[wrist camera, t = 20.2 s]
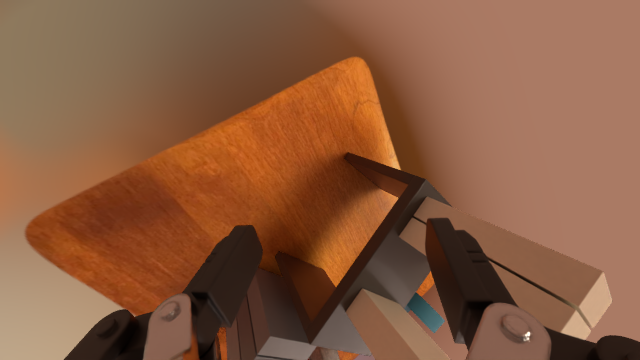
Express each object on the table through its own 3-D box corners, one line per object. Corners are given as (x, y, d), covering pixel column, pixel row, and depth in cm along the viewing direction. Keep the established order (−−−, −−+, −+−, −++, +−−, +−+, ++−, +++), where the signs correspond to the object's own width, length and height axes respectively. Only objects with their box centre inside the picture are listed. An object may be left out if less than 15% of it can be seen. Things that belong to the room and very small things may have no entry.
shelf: (348, 152, 35) (426, 179, 22) (384, 183, 40) (466, 220, 27) (274, 256, 35) (309, 345, 22) (320, 275, 40) (370, 356, 27)
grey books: (253, 265, 34) (270, 336, 24) (289, 278, 38) (317, 345, 27) (224, 306, 34) (228, 395, 24) (263, 316, 38) (281, 396, 27)
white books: (426, 196, 23) (603, 271, 12) (455, 223, 26) (612, 300, 16) (398, 236, 23) (552, 345, 12) (430, 258, 26) (572, 358, 16)
